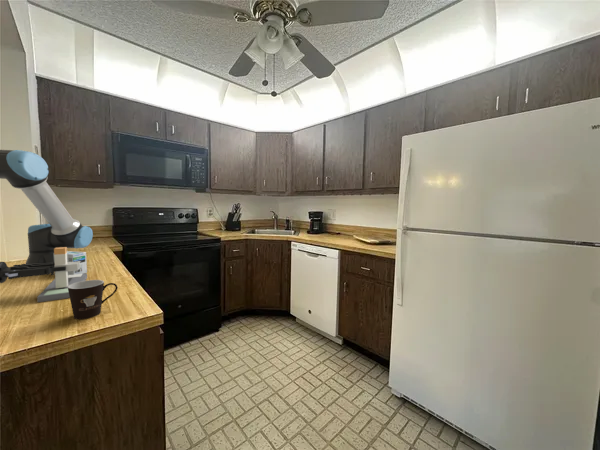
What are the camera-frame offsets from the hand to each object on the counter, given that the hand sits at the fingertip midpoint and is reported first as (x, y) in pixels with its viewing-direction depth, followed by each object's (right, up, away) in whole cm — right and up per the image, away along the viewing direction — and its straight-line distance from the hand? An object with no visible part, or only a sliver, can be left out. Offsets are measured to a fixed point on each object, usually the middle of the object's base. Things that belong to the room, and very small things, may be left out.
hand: (78, 265), depth 96 cm
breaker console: (-8, -10, +3) cm, 13 cm away
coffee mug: (+22, -12, -19) cm, 31 cm away
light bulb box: (-24, -8, +22) cm, 33 cm away
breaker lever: (-4, -8, -2) cm, 9 cm away
